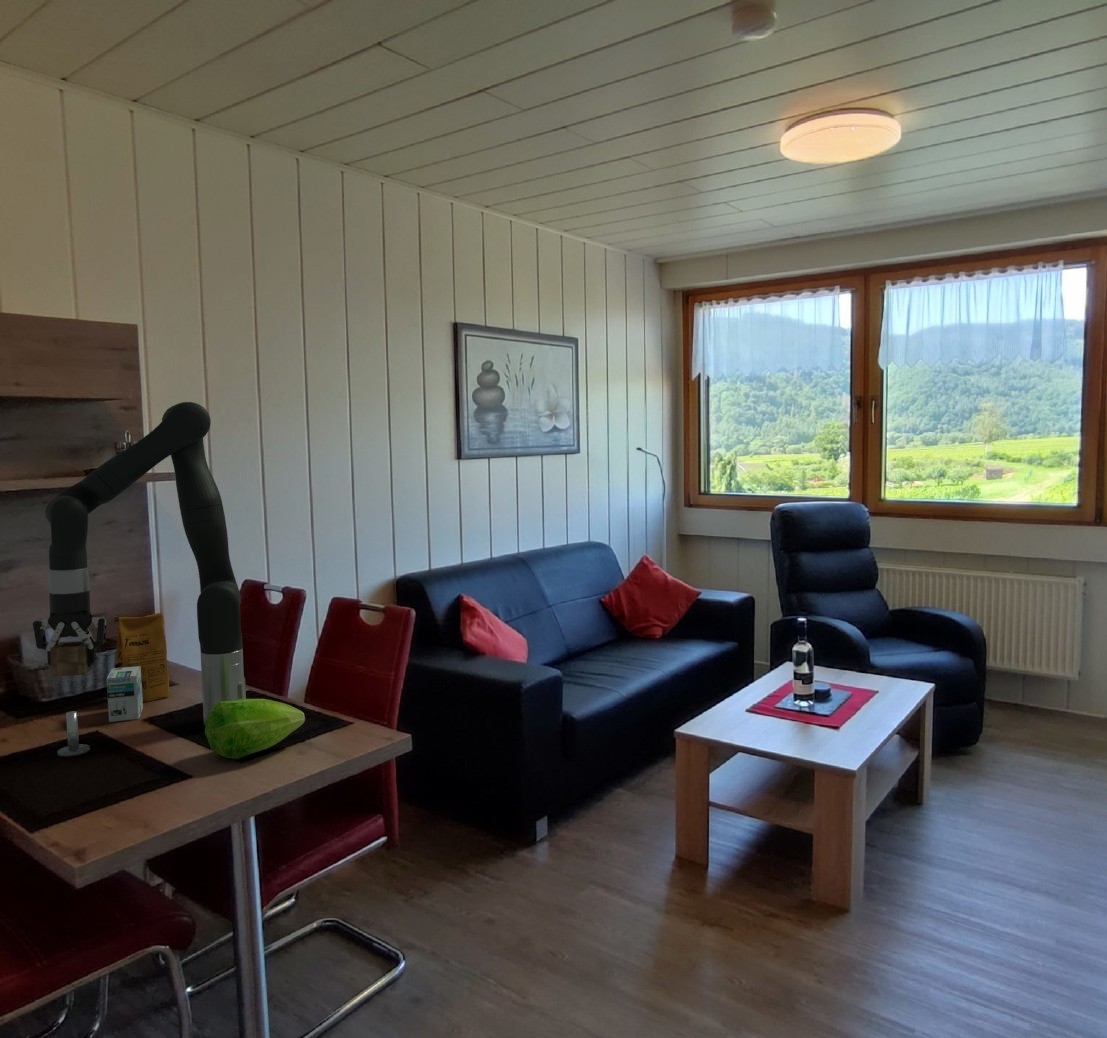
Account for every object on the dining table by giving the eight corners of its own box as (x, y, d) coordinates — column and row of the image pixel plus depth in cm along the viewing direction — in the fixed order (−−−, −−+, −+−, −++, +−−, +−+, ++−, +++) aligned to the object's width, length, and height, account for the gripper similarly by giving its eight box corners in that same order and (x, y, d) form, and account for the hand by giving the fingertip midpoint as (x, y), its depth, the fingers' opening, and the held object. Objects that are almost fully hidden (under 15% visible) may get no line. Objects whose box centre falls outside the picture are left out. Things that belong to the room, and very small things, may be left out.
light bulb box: (139, 719, 200) (137, 675, 199) (108, 723, 197) (105, 678, 196) (143, 707, 210) (141, 665, 209) (113, 710, 207) (111, 667, 206)
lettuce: (312, 753, 175) (311, 698, 174) (210, 772, 166) (208, 713, 165) (298, 734, 187) (296, 682, 187) (202, 751, 178) (199, 696, 177)
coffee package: (114, 697, 218) (109, 614, 216) (165, 689, 225) (161, 609, 223) (118, 707, 210) (113, 621, 208) (172, 698, 216) (167, 615, 215)
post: (93, 745, 182) (90, 707, 181) (85, 755, 176) (83, 715, 175) (62, 748, 180) (60, 709, 179) (53, 758, 174) (51, 718, 174)
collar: (93, 667, 183) (92, 640, 182) (84, 674, 176) (83, 647, 176) (61, 669, 181) (60, 641, 181) (51, 676, 175) (50, 648, 174)
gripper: (111, 585, 183) (113, 660, 184) (38, 587, 179) (41, 664, 180) (101, 591, 175) (104, 669, 177) (25, 593, 172) (28, 672, 173)
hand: (72, 666), depth 178 cm, fingers closed on collar, 6 cm apart
